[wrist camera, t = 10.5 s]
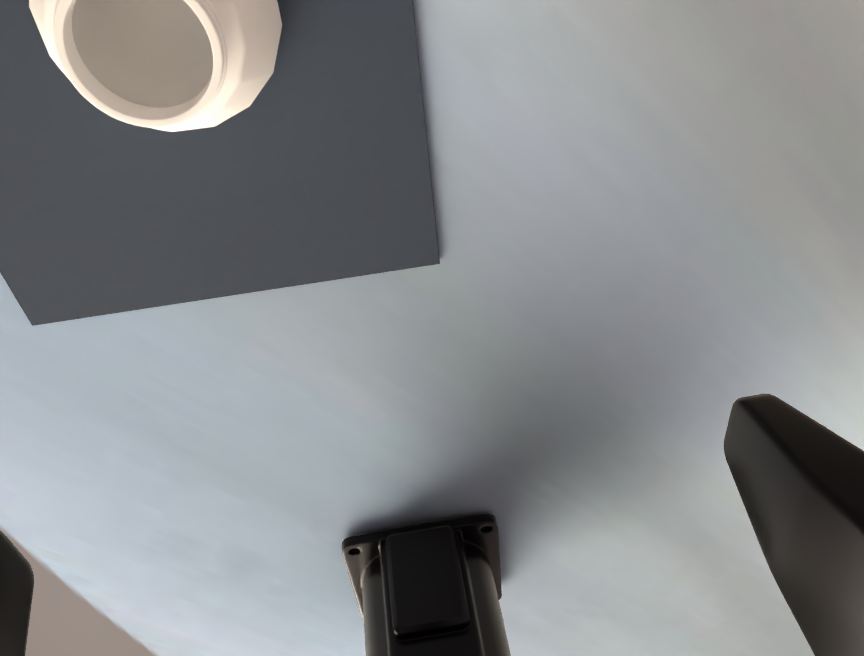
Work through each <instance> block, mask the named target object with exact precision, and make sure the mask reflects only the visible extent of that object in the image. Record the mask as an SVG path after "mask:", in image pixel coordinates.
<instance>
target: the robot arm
mask: <svg viewBox="0 0 864 656" xmlns="http://www.w3.org/2000/svg"><path fill="white" fill-rule="evenodd" d="M724 452H725V457H726V460H727V463H728V465H729V468H730V470H731V473H732V476H733V478H734V481H735V483H736V486H737V488H738V491H739V493H740V496H741V498H742V501H743V503H744V506H745V508H746V511H747V513H748V516H749V518H750V521H751V523H752V526H753V529H754V531H755V534H756V536H757V539H758V541H759V544H760V546H761V549H762V551H763V554H764V556H765V558H766V561H767V563H768V565H769V568H770V570H771V572H772V574H773V576H774V578H775V580H776V582H777V584H778V586H779V588H780V590H781V592H782V594H783V596H784V598H785V600H786V602H787V604H788V605H789V607H790V609H791V611H792V613H793V615H794V617H795V619H796V621H797V622H798V624H799V626H800V628H801V630H802V632H803V634H804V636H805V638H806V639H807V641H808V643H809V645H810V647H811V649H812V651H813V653H814V655H815V656H864V451H863V450H861V449H859V448H858V447H856V446H855V445H853V444H851V443H850V442H848V441H847V440H845V439H843V438H842V437H840V436H838V435H837V434H835V433H834V432H832V431H830V430H829V429H827V428H826V427H824V426H822V425H821V424H819V423H818V422H816V421H814V420H813V419H811V418H810V417H808V416H806V415H805V414H803V413H802V412H800V411H798V410H797V409H795V408H793V407H792V406H790V405H789V404H787V403H785V402H784V401H782V400H781V399H779V398H777V397H775V396H773V395H770V394H759V395H753V396H747V397H742V398H739V399H737V400H736V401H735V402H734V403H733V406H732V410H731V414H730V418H729V422H728V427H727V431H726V435H725V439H724ZM342 554H343V557H344V560H345V563H346V567H347V570H348V573H349V576H350V579H351V583H352V586H353V589H354V592H355V595H356V599H357V602H358V605H359V608H360V611H361V615H362V618H363V620H364V628H365V645H366V656H511V655H510V650H509V645H508V641H507V636H506V632H505V627H504V623H503V618H502V613H501V609H500V604H499V599H500V598H501V596H502V594H501V576H500V557H499V538H498V526H497V521H496V518H495V517H494V516H493V515H490V514H483V515H477V516H471V517H465V518H459V519H453V520H447V521H441V522H435V523H429V524H423V525H417V526H411V527H405V528H399V529H393V530H388V531H382V532H376V533H370V534H364V535H358V536H352V537H348V538H346V539H345V540H344V541H343V542H342ZM33 587H34V575H33V571H32V568H31V566H30V564H29V562H28V561H27V560H26V559H25V558H24V556H23V555H22V554H21V553H20V552H19V551H18V549H17V548H16V547H15V546H14V545H13V544H12V542H11V541H10V540H9V539H8V538H7V537H6V536H5V534H4V533H2V532H1V531H0V656H25V651H26V643H27V635H28V626H29V619H30V611H31V603H32V595H33Z"/></svg>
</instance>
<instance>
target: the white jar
mask: <svg viewBox="0 0 864 656" xmlns="http://www.w3.org/2000/svg"><path fill="white" fill-rule="evenodd" d="M29 8H30V10H31V13H32V15H33V17H34V20H35V22H36V25H37V27H38V29H39V32H40V34H41V37H42V39H43V41H44V44H45V46H46V49H47V51H48V53H49V56H50V57H51V58H52V60H53V61H54V62H55V63H56V65H57V66H58V67H59V69H60V70H61V71H62V72H63V73H64V74H65V75H66V77H67V78H68V79H69V80H70V81H71V83H72V84H73V85H74V87H75V88H76V89H77V90H78V91H79V92H80V93H81V95H82V96H83V97H84V98H86V99H87V100H88V101H89V102H90V103H91V104H93V105H94V106H95V107H96V108H98V109H99V110H101V111H102V112H104V113H106V114H107V115H109V116H111V117H113V118H115V119H118V120H120V121H123V122H125V123H128V124H132V125H136V126H141V127H149V128H153V129H157V130H162V131H169V132H176V131H184V130H192V129H200V128H208V127H215V126H217V125H218V124H220V123H222V122H224V121H225V120H227V119H229V118H231V117H232V116H234V115H236V114H237V113H239V112H241V111H243V110H244V109H246V108H248V107H250V105H251V104H252V102H253V101H254V100H255V98H256V97H257V95H258V94H259V92H260V91H261V90H262V88H263V87H264V85H265V84H266V83H267V81H268V80H269V78H270V77H271V75H272V74H273V72H274V66H275V61H276V56H277V51H278V45H279V40H280V35H281V29H282V21H281V16H280V11H279V7H278V2H277V0H29Z"/></svg>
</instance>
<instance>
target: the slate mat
mask: <svg viewBox="0 0 864 656" xmlns="http://www.w3.org/2000/svg"><path fill="white" fill-rule="evenodd" d="M277 2H278V7H279V11H280V16H281V21H282V29H281V35H280V40H279V45H278V51H277V56H276V61H275V66H274V72H273V74H272V75H271V77H270V78H269V80H268V81H267V83H266V84H265V85H264V87H263V88H262V90H261V91H260V92H259V94H258V95H257V97H256V98H255V100H254V101H253V102H252V104H251V105H250V107H248V108H246V109H244V110H243V111H241V112H239V113H237V114H236V115H234V116H232V117H231V118H229V119H227V120H225V121H224V122H222V123H220V124H218V125H217V126H215V127H208V128H200V129H192V130H184V131H176V132H169V131H162V130H157V129H153V128H149V127H141V126H136V125H132V124H128V123H125V122H123V121H120V120H118V119H115V118H113V117H111V116H109V115H107V114H106V113H104V112H102V111H101V110H99V109H98V108H96V107H95V106H94V105H93V104H91V103H90V102H89V101H88V100H87V99H86V98H84V97H83V96H82V95H81V93H80V92H79V91H78V90H77V89H76V88H75V87H74V85H73V84H72V83H71V81H70V80H69V79H68V78H67V77H66V75H65V74H64V73H63V72H62V71H61V70H60V69H59V67H58V66H57V65H56V63H55V62H54V61H53V60H52V58H51V57H50V56H49V53H48V51H47V49H46V46H45V44H44V41H43V39H42V37H41V34H40V32H39V29H38V27H37V25H36V22H35V20H34V17H33V15H32V13H31V10H30V8H29V0H0V273H1V274H2V276H3V278H4V279H5V281H6V283H7V284H8V286H9V288H10V289H11V291H12V293H13V294H14V296H15V298H16V299H17V301H18V303H19V304H20V306H21V308H22V309H23V311H24V313H25V314H26V316H27V317H28V319H29V321H30V322H31V324H32V325H39V324H46V323H52V322H59V321H65V320H72V319H79V318H85V317H92V316H98V315H105V314H112V313H118V312H125V311H131V310H138V309H145V308H151V307H158V306H164V305H171V304H177V303H184V302H191V301H197V300H204V299H210V298H217V297H224V296H230V295H237V294H243V293H250V292H256V291H263V290H270V289H276V288H283V287H289V286H296V285H303V284H309V283H316V282H322V281H329V280H335V279H342V278H349V277H355V276H362V275H368V274H375V273H382V272H388V271H395V270H401V269H408V268H414V267H421V266H428V265H434V264H440V262H439V252H438V243H437V233H436V223H435V213H434V204H433V194H432V184H431V174H430V165H429V155H428V145H427V136H426V126H425V116H424V106H423V97H422V87H421V77H420V67H419V58H418V48H417V38H416V28H415V19H414V9H413V0H277Z"/></svg>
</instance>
